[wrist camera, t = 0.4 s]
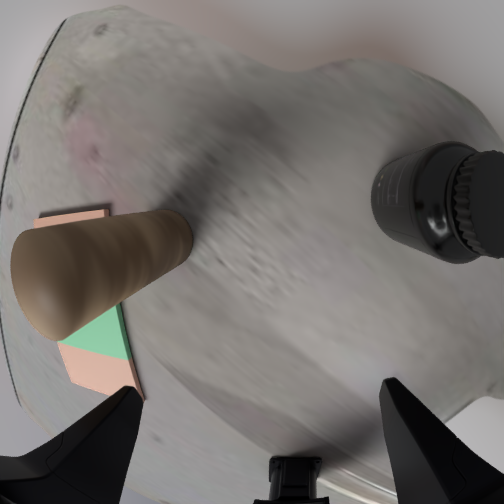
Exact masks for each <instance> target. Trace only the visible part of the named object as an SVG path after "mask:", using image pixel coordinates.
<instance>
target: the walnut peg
mask: <svg viewBox="0 0 504 504" xmlns="http://www.w3.org/2000/svg"><path fill="white" fill-rule="evenodd" d="M192 246H193V235H192V231H191V228H190V226H189V224H188V222H187V221H186V220H185V218H184V217H183V216H181V215H180V214H179V213H177V212H175V211H172V210H156V211H147V212H139V213H131V214H123V215H116V216H108V217H101V218H94V219H88V220H81V221H75V222H69V223H63V224H57V225H51V226H46V227H40V228H35V229H29V230H26V231H24V232H22V233H21V234H20V235H19V236H18V237H17V239H16V241H15V243H14V246H13V249H12V253H11V278H12V284H13V288H14V292H15V295H16V298H17V301H18V303H19V305H20V307H21V310H22V311H23V313H24V315H25V317H26V318H27V320H28V321H29V322H30V324H31V325H32V326H33V327H34V328H35V329H36V330H37V331H38V332H39V333H40V334H41V335H42V336H44V337H46V338H47V339H50V340H53V341H61V340H64V339H66V338H67V337H69V336H70V335H72V334H73V333H75V332H76V331H78V330H79V329H81V328H82V327H84V326H85V325H87V324H88V323H90V322H91V321H93V320H94V319H96V318H97V317H99V316H100V315H102V314H103V313H105V312H106V311H108V310H109V309H111V308H112V307H114V306H115V305H117V304H119V303H120V302H122V301H123V300H125V299H126V298H128V297H129V296H131V295H133V294H134V293H136V292H137V291H139V290H140V289H142V288H144V287H145V286H147V285H148V284H150V283H151V282H153V281H155V280H156V279H158V278H159V277H161V276H163V275H164V274H166V273H167V272H169V271H171V270H172V269H174V268H175V267H177V266H179V265H180V264H182V263H183V262H184V261H185V260H186V259H187V258H188V256H189V255H190V253H191V250H192Z"/></svg>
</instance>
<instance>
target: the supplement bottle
mask: <svg viewBox="0 0 504 504" xmlns="http://www.w3.org/2000/svg"><path fill="white" fill-rule="evenodd" d="M371 206H372V211H373V215H374V217H375V220H376V222H377V224H378V225H379V227H380V228H381V230H382V231H383V232H384V233H385V234H386V235H387V236H389V237H390V238H392V239H393V240H395V241H397V242H399V243H402V244H404V245H407V246H409V247H412V248H414V249H416V250H419V251H421V252H424V253H426V254H428V255H431V256H433V257H436V258H438V259H440V260H443V261H446V262H449V263H453V264H464V263H468V262H471V261H473V260H475V259H477V258H479V257H480V256H488V257H493V258H497V259H499V258H504V154H503V153H502V152H497V151H495V150H492V151H485V152H478V151H477V150H475V149H474V148H472V147H471V146H469V145H467V144H464V143H461V142H455V141H447V142H443V143H439V144H436V145H433V146H431V147H428V148H425V149H423V150H420V151H418V152H415V153H413V154H410V155H407V156H405V157H402V158H400V159H397V160H395V161H393V162H391V163H389V164H388V165H386V166H385V167H384V168H383V169H382V170H381V171H380V172H379V174H378V175H377V177H376V179H375V181H374V184H373V187H372V192H371Z"/></svg>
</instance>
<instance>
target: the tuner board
mask: <svg viewBox="0 0 504 504" xmlns="http://www.w3.org/2000/svg"><path fill="white" fill-rule="evenodd" d="M108 216H109V209H104V210H95V211H87V212H79V213H72V214H65V215H58V216H51V217H45V218H39V219H34V229H35V228H40V227H46V226H51V225H57V224H63V223H69V222H75V221H81V220H88V219H94V218H101V217H108ZM57 343H58V346H59V349H60V352H61V355H62V358H63V361H64V363H65V366H66V369H67V371H68V374H69V376H70V379H71V381H72V382H73V383H75V384H78V385H81V386H83V387H86V388H89V389H91V390H94V391H97V392H100V393H103V394H106V395H109V396H111V395H113V394H114V393H115V392H116V391H118V390H119V389H120V388H122V387H123V386H125V385H128V386H133V387H135V388H136V390H137V391H138V393H139V394H140V396H141V397H142V399H143V403H144V401H145V400H144V397H143V394H142V390H141V387H140V384H139V381H138V377H137V374H136V370H135V367H134V363H133V359H132V356H131V352H130V348H129V344H128V339H127V335H126V331H125V326H124V321H123V316H122V311H121V306H120V303H119V304H117V305H115V306H114V307H112V308H111V309H109V310H108V311H106V312H105V313H103V314H102V315H100V316H99V317H97V318H96V319H94V320H93V321H91V322H90V323H88V324H87V325H85V326H84V327H82V328H81V329H79V330H78V331H76V332H75V333H73V334H72V335H70V336H69V337H67V338H66V339H64V340H61V341H57Z"/></svg>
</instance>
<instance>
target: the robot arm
mask: <svg viewBox="0 0 504 504" xmlns="http://www.w3.org/2000/svg"><path fill="white" fill-rule="evenodd" d="M379 400H380V406H381V414H382V421H383V430H384V436H385V441H386V445H387V449H388V454H389V458H390V463H391V467H392V472H393V477H394V482H395V487H396V492H397V498H398V504H504V474H503V473H501V472H500V471H498V470H497V469H496V468H494V467H493V466H491V465H490V464H489V463H487V462H486V461H485V460H483V459H482V458H481V457H479V456H478V455H477V454H475V453H474V452H473V451H472V450H470V448H468V447H467V446H466V445H465V444H464V443H463V442H462V441H461V440H460V439H459V438H457V436H456V435H455V434H454V433H453V432H452V431H451V430H450V429H449V428H448V427H446V426H445V425H444V424H443V423H442V422H441V421H440V420H439V419H438V418H437V417H436V416H435V415H434V414H433V413H432V412H431V411H430V410H429V409H428V408H427V407H426V406H425V405H424V404H423V403H422V402H421V401H420V400H419V399H418V398H416V397H415V396H414V395H413V394H412V393H411V392H410V391H409V390H408V389H407V388H406V387H405V386H404V385H403V384H402V383H401V382H400V381H399V380H398V379H397V378H395V377H391V378H387V379H384V380H383V382H382V386H381V390H380V393H379ZM142 409H143V399H142V397H141V396H140V394H139V393H138V391H137V390H136V388H135V387H133V386H128V385H125V386H123V387H122V388H120V389H119V390H118V391H116V392H115V393H114V394H113V395H111V396H110V397H109V398H107V399H106V400H105V401H103V402H102V403H101V404H99V405H98V406H97V407H95V408H94V409H93V410H91V411H90V412H89V413H87V414H86V415H85V416H83V417H82V418H81V419H79V420H78V421H77V422H75V423H74V424H72V425H71V426H70V427H68V428H67V429H66V430H64V431H63V432H61V433H60V434H59V435H57V436H56V437H54V438H53V439H51V440H50V441H48V442H47V443H45V444H43V445H42V446H40V447H38V448H36V449H34V450H33V451H31V452H29V453H27V454H25V455H23V456H19V457H9V456H0V504H119V502H120V497H121V494H122V490H123V486H124V482H125V478H126V474H127V471H128V467H129V463H130V460H131V456H132V453H133V449H134V446H135V442H136V439H137V435H138V431H139V425H140V420H141V414H142ZM321 463H322V459H321V458H271V459H270V460H269V482H271V486H270V493H269V500H259V499H255V500H254V503H253V504H329V496H328V497H324V498H317V489H316V480H317V477H318V474H319V470H320V467H321Z"/></svg>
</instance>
